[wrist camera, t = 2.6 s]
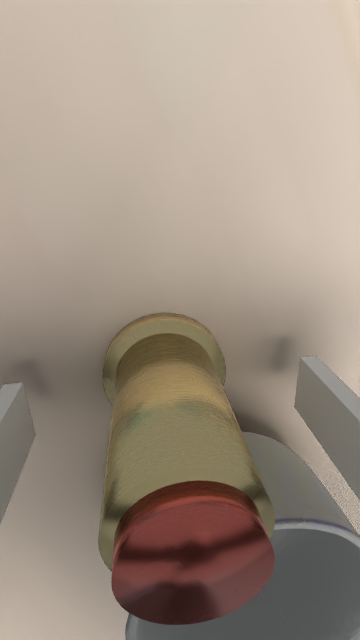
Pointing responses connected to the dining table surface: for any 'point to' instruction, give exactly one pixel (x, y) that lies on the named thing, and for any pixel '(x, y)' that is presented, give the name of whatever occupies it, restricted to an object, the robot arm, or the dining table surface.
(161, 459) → the cylinder
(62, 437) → the dining table surface
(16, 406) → the robot arm
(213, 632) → the teacup
